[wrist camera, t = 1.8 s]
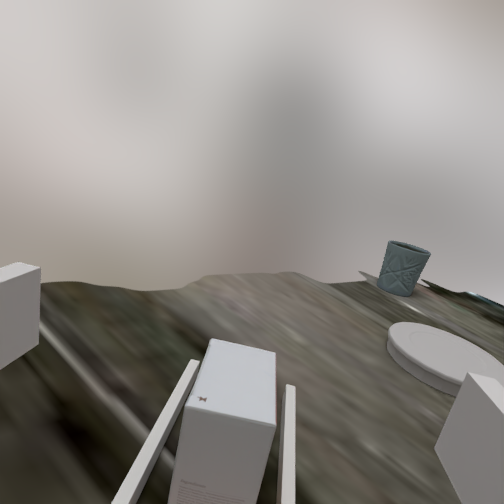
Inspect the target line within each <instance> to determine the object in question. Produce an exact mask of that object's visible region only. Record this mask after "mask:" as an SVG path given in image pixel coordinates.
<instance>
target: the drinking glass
mask: <svg viewBox="0 0 504 504" xmlns="http://www.w3.org/2000/svg"><path fill="white" fill-rule="evenodd" d="M430 255H431V253H430V252H428V251H427V250H424V249H422V248H419V247H416V246H413V245H410V244H406V243H402V242H397V241H389V242H388V245H387V249H386V254H385V257H384V261H383V265H382V269H381V272H380V275H379V279H378V282H377V286H378V287H379V288H381V289H382V290H384V291H386V292H389V293H391V294H394V295H398V296H404V297H408V296H410V295H411V293H412V291H413V289H414V287H415V285H416V282H417V281H418V279H419V277H420V274H421V272H422V270H423V269H424V267H425V265H426V263H427V261H428V259H429V257H430Z"/></svg>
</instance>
